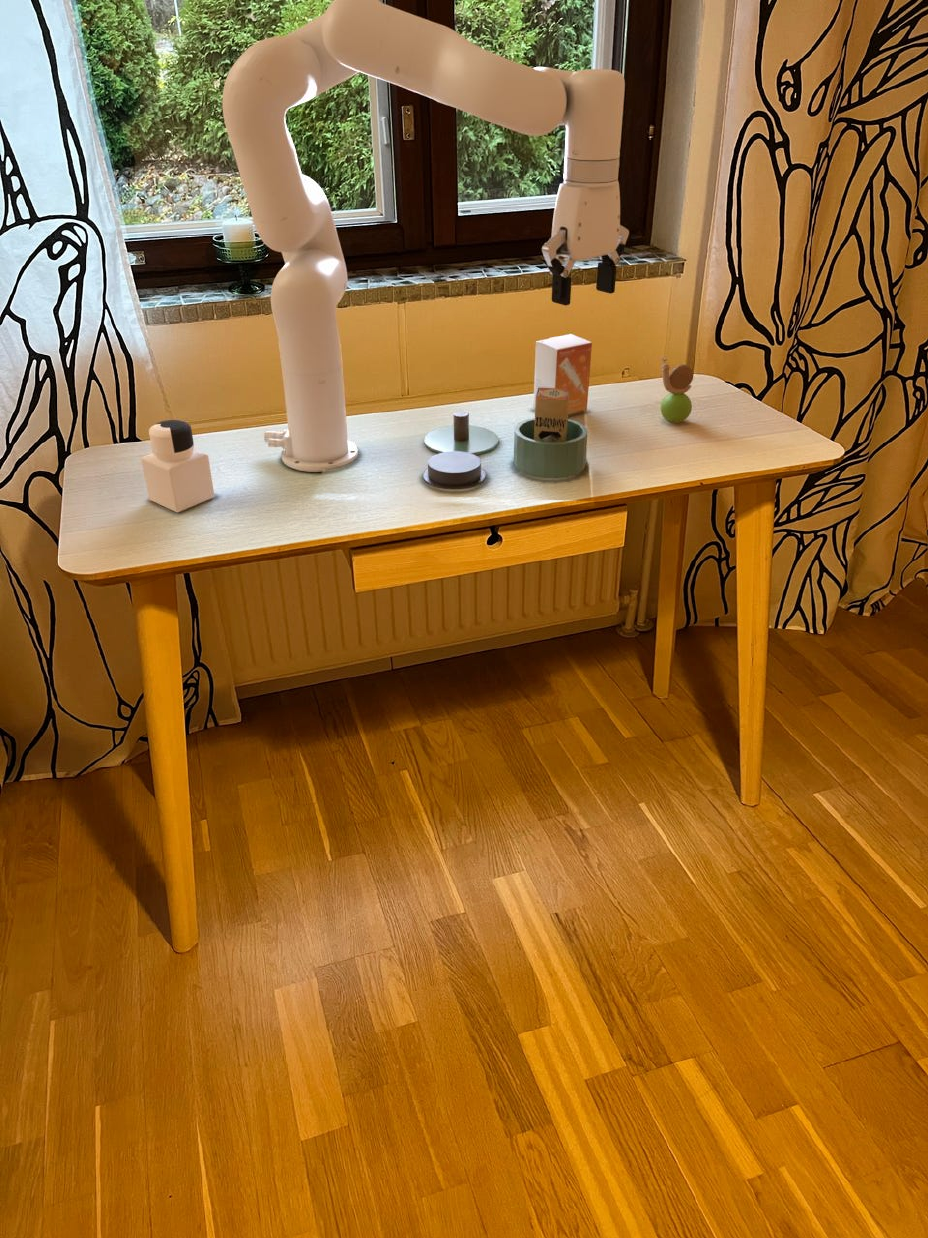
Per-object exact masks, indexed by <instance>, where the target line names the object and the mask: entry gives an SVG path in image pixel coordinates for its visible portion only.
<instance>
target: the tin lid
mask: <svg viewBox="0 0 928 1238" xmlns="http://www.w3.org/2000/svg"><path fill="white" fill-rule="evenodd" d="M423 442H424V445H425V447H426V448H427V449H428V450H430V451H432V452H434V453H436V454H439V453H443V452H450V451H460V452H467V453H471V454H474V455H476V456H477V455H478V456H479V455H482V454H483V455H484V454H486V453H488V452H491V451H493V450H494V449H495V448H497V446H498V445H499V437H498V435H497V434H496V432H493V431H492V430H491V429H488V428H485V427H482V426H477V425H470V413H469V412H468V411H465V410H457V411H454V412H453V425H447V426H442V427H438V428H435V429H433V430H431V431H429V432H428V433H427V434H426V435H424V440H423Z"/></svg>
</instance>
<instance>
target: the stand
mask: <svg viewBox="0 0 928 1238" xmlns="http://www.w3.org/2000/svg"><path fill="white" fill-rule="evenodd" d="M422 479H423V481H424V482H425V483H426V484H428V485H430V486H432V487H434V488H438V489H442V490H453V491H454V490H466V489H467V490H468V489H470V488H475V487H478V486H479V485H482V483H484V482H485V480H486V479H487V473H486V471H485V470H484V468H482V459H480V457H479V456H477V455H474V454H471V453H467V452H460V451H450V452H443V453H436V454H434V455H432V456H430V457H429V459H428V460H427V469H425V470H424V471H423V473H422Z"/></svg>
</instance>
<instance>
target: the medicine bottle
mask: <svg viewBox="0 0 928 1238" xmlns="http://www.w3.org/2000/svg"><path fill="white" fill-rule="evenodd" d="M148 435H149V441H150V446H151V451H152V453H149V454H147V455H144V456H142V457H141V464H142V469H143V475H144V479H145V484H146V490H147V495H148V499H149V500H150V502H154V503H155V504H158V505H160V506H162V507H164V508H166V509H168V510H171V511H173V512H175V513H180V512H183V511H185V510H187V509H190V508H192V507H194V506H197V505H199V504H202V503H205V502H206V501H209V500H211V499H213V498H215V490H214V485H213V484H214V483H213V477H212V471H211V465H210V464H211V463H210V458H209V455H208V454H207V453H205V452H202V451H200V450H197V449H195V443H194V438H193V431H192V426H191V425H190V424H189V422H186V421H183V420H178V419H165V420H162V421H159V422H157V423H155V424H153V425H152V426H150V427H149V429H148Z"/></svg>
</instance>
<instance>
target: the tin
mask: <svg viewBox="0 0 928 1238" xmlns="http://www.w3.org/2000/svg"><path fill="white" fill-rule="evenodd" d="M534 426H535V417H531V418H527V419H525V420H522V421H520V422H518V423H517V424H516V425H515V426H514V433H513V435H514V437H513V438H514V439H513V466H514V468H515V469H516V470H517V471H519V472H520V473H522V474H524V475H528V476H530V477H535V478H540V479H562V478H563V479H564V478H569V477H573V476H575V475H578V474H579V473H581V472H583V471H584V469H585V468H586V463H587V462H586V461H587V448H588V428H587V427H586V426H585V424H583V423H581V422H580V421H578V420H575V419H570V418H568V425H567V441H566V442H542V441H536V440H534Z"/></svg>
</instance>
